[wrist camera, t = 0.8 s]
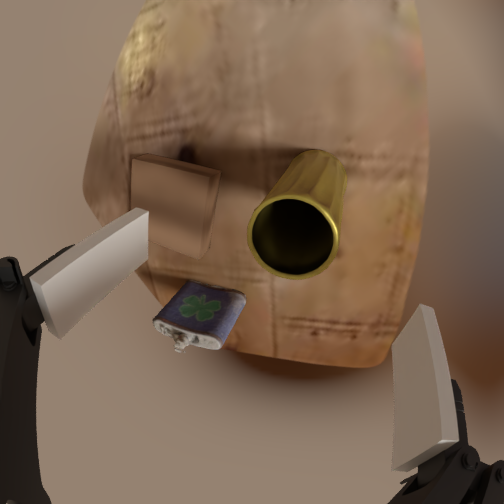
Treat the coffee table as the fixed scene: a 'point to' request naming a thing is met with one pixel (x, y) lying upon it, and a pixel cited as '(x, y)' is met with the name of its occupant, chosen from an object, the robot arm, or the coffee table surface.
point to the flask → (200, 315)
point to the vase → (300, 218)
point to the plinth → (176, 202)
